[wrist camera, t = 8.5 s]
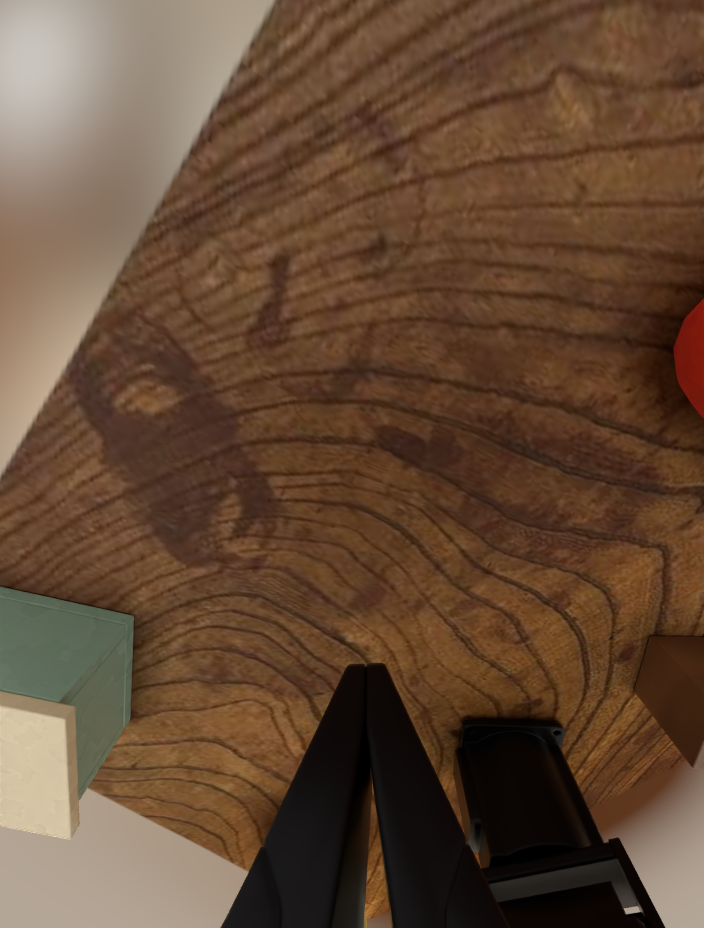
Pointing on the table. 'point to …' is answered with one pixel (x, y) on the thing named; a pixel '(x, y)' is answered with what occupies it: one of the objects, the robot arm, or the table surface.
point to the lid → (38, 766)
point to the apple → (691, 357)
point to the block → (676, 691)
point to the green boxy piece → (70, 666)
